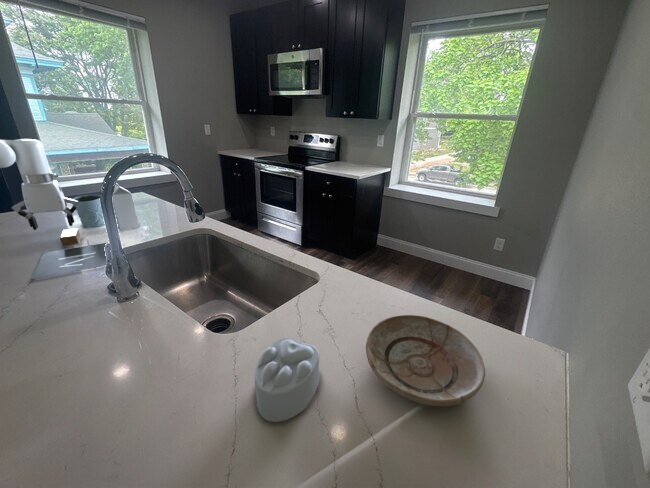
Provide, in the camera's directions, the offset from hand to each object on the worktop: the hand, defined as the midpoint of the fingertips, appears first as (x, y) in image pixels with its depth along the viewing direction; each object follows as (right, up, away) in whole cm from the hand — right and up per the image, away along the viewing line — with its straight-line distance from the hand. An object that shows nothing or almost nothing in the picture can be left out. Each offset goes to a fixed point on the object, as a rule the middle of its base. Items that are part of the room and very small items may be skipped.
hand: (54, 226), depth 106 cm
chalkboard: (+13, -12, -6) cm, 19 cm away
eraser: (+2, -6, +6) cm, 9 cm away
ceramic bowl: (+117, -33, -42) cm, 129 cm away
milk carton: (+12, +1, +22) cm, 25 cm away
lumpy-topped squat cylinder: (+89, -35, -49) cm, 108 cm away
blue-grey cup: (-3, +2, +23) cm, 23 cm away
